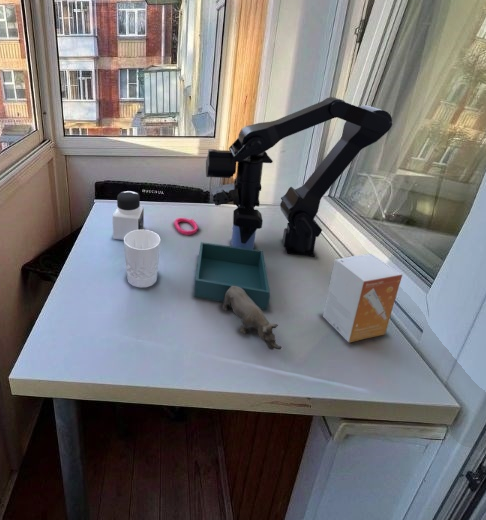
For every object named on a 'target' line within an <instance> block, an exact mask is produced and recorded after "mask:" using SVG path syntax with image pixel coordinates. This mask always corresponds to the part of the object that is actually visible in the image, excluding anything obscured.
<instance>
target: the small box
mask: <svg viewBox="0 0 486 520" xmlns="http://www.w3.org/2000/svg"><path fill="white" fill-rule="evenodd" d="M402 277H403V273H401V272H399V271H398V270H396V269H395V268H394V267H392V266H390V265H389V264H387V263H386V262H385V261H383V260H382V259H380V258H379V257H377V256H375V255H374V254H373V253H365V254H359V255H358V254H357V255H351V256H346V257H342V258H336V259H334V261H333V266H332V271H331V276H330V279H329V280H330V281H329V285H328V289H327V294H326V298H325V304H324V309H323V313H322V317H323V318H324V319H325V320H326V321H327V322H328V323H329V324H330V325H331V326H332V327H333V329H335V330H336V332H338V333H339V334H340V335H341V336H342V337H343V339H344V340H345V341H346V342H348V343H349V344H351V343H353V342H358V341H361V340H365V339H370V338H376V337H380V336H385V335H386V333H387V329H388V326H389V323H390V318H391V315H392V311H393V309H394V305H395V301H396V298H397V294H398V291H399V288H400V284H401V281H402Z"/></svg>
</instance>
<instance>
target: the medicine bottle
mask: <svg viewBox="0 0 486 520" xmlns="http://www.w3.org/2000/svg"><path fill="white" fill-rule="evenodd" d="M140 198H141V197H140V194H139V193H138V192H136V191H131V190H127V191H121V192H119V193H118V194H117V196H116V209H115V210H114V212H113V214H112V238H113V239H114V240H122V241H124V237H125V235H126V234H128V233H129V232H131V231H134V230H144V226H145V225H144V224H145V223H144V222H145V221H144V220H145V219H144V215H145V214H144V213H145V212H144V211H145V209H144V206H143V205H141V199H140Z"/></svg>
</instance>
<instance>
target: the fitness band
mask: <svg viewBox="0 0 486 520" xmlns="http://www.w3.org/2000/svg"><path fill="white" fill-rule="evenodd" d="M182 222H183V223H188V224H190V225H191V226H192V227H193V228H194V229H191V230H185V229H183V228H182V227H181V226H180V224H179V223H182ZM174 227H175V228H176V230H177V231H178V233H179V234H182V235H186V236H191V235H193V234H195V233H196V232H197V231H199V227H198V223H197V222H196V221H195V220H194V218H190V219H189V218H185V217H177V218H175V220H174Z"/></svg>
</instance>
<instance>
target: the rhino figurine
mask: <svg viewBox="0 0 486 520" xmlns="http://www.w3.org/2000/svg"><path fill="white" fill-rule="evenodd" d="M230 306H231V308H232V311H233V313H234V315H235V316H237V317H238V318H239V319H241V322H242V325H241V326H240V329H239V331H240V333H242V334H243V335H247V334H248V333H249V330H248V328H251V330H252V332H253V333H255V334H258V336H259V338H260V339H261V340H262V342H264V344H265V346H267V348H268V349H269V350H270V351H273V350H281V349H282V348H283V346H282V345H278V344H277V342H276V336H275V334H274V333H273V329H276V328H278V326H279V324H276V323H273V324H271V323H270V322H269V320H268V319H267V318H266V316H265V314H264V311H263V309H261V308H259V307H258V306H257V305H256V304H255V303H254V302H253V300H252V299H251V298H250V297H249V296H248V295H247V294H246V292H245V291H244V290H243V289H242V288H240V287H237V286H231V287H230V288H229V289H228V291H227V292H226V294H225V299H224V302H223V304H222V306H221V309H222V310H223V311H224V312H228V311H229V310H230V309H231V308H230Z"/></svg>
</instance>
